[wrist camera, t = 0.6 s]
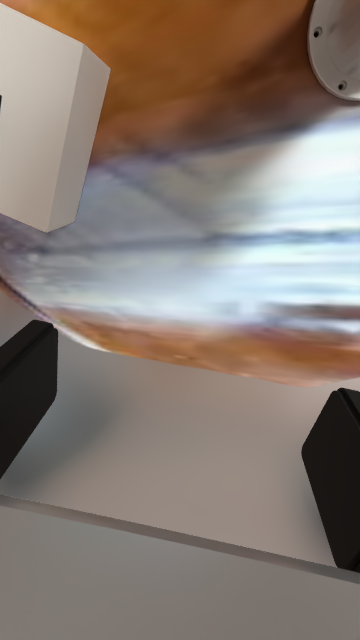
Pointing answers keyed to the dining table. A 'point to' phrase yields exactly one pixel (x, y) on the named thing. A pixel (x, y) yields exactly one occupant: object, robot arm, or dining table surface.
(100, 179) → the dining table surface
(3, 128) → the block
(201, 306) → the dining table surface
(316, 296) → the dining table surface
